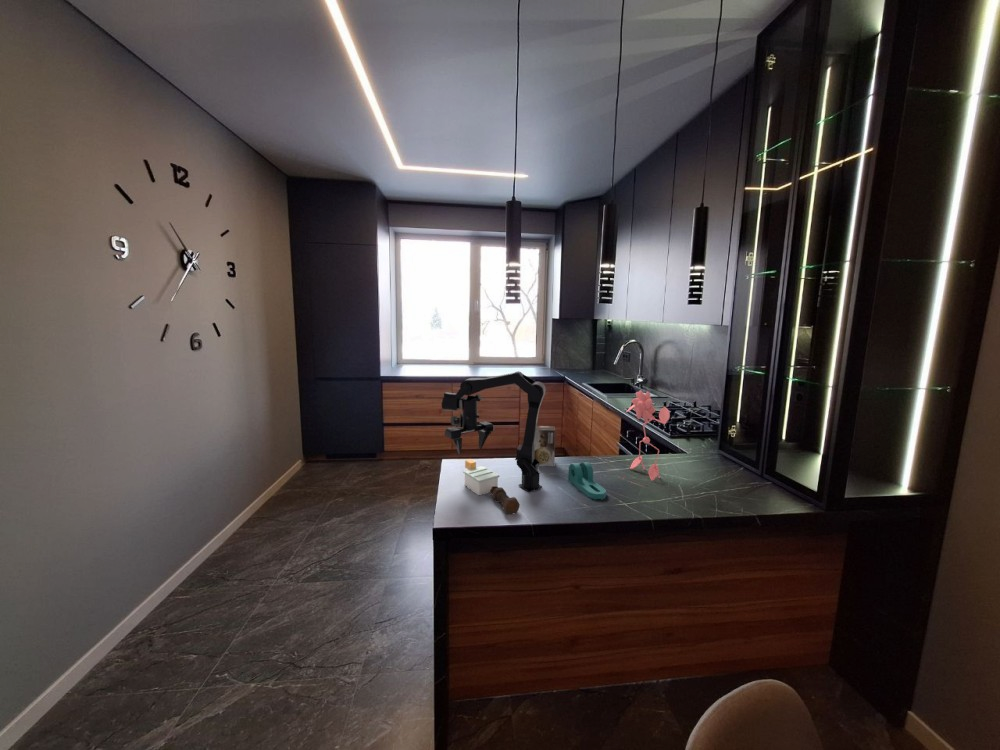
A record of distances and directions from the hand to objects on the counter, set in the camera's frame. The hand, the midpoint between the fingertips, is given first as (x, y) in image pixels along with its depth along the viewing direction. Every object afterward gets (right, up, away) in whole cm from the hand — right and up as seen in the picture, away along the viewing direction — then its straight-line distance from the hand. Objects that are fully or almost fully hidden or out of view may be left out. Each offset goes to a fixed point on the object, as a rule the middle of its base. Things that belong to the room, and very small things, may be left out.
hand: (470, 451), depth 149 cm
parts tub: (+4, -13, -5) cm, 14 cm away
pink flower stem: (+67, -12, +8) cm, 68 cm away
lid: (+3, -7, -4) cm, 9 cm away
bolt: (+13, -15, -17) cm, 26 cm away
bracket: (+44, -13, -4) cm, 46 cm away
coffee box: (+30, -9, +20) cm, 38 cm away
